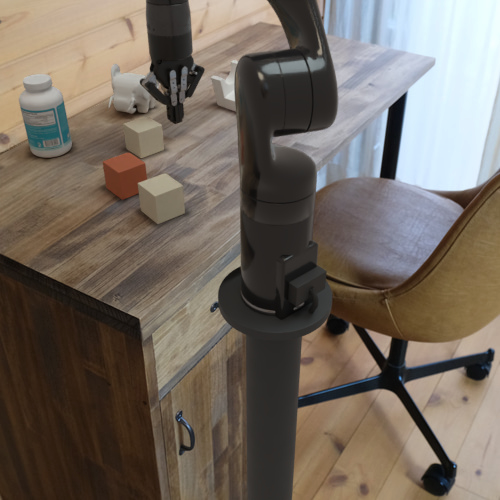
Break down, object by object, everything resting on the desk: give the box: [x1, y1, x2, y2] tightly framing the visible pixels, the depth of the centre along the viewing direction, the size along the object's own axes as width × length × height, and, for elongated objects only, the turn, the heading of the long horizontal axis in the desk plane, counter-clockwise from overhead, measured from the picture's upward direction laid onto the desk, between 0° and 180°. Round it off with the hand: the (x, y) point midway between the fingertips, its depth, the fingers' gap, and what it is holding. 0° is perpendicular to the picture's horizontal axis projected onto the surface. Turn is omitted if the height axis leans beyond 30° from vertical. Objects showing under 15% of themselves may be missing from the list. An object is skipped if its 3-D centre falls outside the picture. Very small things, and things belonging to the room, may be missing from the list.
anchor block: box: [102, 151, 148, 201], centre depth 105 cm, size 5×5×5 cm
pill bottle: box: [18, 73, 73, 159], centre depth 114 cm, size 8×7×14 cm
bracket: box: [210, 59, 239, 113], centre depth 130 cm, size 13×7×8 cm, turn 49°
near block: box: [138, 172, 186, 225], centre depth 99 cm, size 5×5×5 cm
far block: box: [122, 115, 165, 159], centre depth 116 cm, size 5×5×5 cm
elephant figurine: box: [108, 63, 160, 115], centre depth 129 cm, size 10×12×9 cm
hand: (176, 121), depth 120 cm, fingers closed
